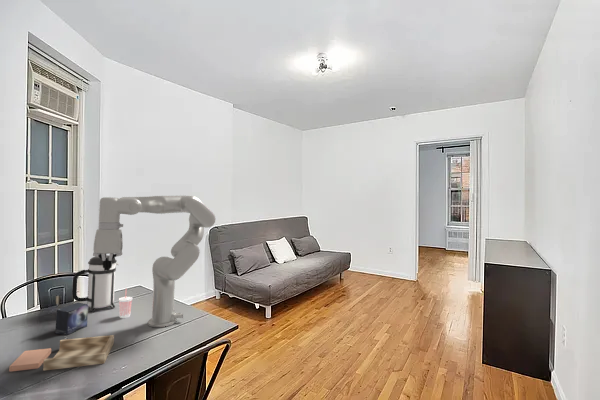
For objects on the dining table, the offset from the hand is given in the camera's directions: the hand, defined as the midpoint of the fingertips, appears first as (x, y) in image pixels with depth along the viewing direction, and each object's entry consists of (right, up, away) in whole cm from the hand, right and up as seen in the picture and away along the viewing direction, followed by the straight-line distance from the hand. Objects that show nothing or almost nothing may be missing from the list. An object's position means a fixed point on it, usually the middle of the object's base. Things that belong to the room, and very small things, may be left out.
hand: (107, 269), depth 134 cm
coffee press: (-25, -28, +33) cm, 50 cm away
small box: (-20, -28, +6) cm, 35 cm away
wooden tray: (0, -29, -16) cm, 33 cm away
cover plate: (-14, -29, -22) cm, 39 cm away
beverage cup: (-6, -29, +24) cm, 38 cm away
